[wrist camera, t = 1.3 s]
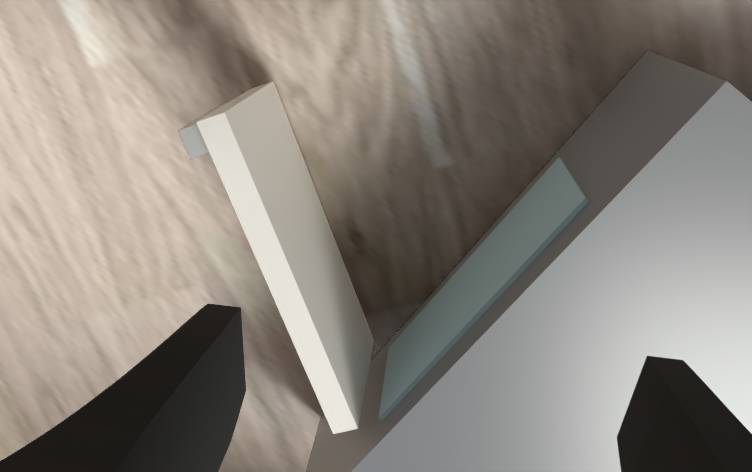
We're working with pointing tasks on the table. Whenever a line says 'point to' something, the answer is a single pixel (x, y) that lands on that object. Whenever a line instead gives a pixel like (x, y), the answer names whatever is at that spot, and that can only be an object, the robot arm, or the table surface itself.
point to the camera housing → (578, 295)
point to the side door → (290, 244)
